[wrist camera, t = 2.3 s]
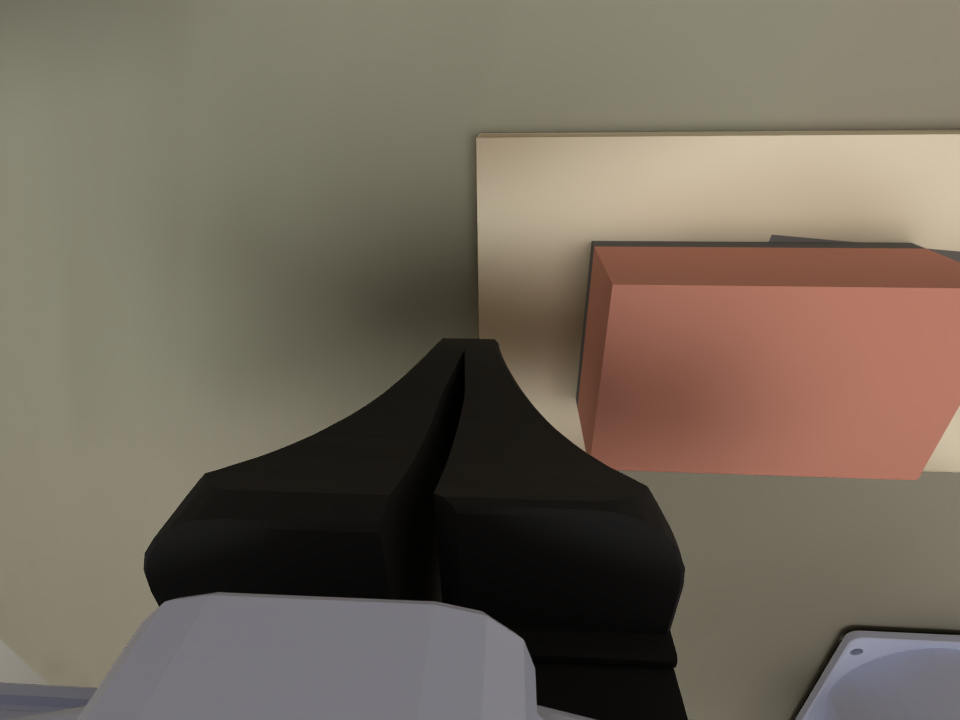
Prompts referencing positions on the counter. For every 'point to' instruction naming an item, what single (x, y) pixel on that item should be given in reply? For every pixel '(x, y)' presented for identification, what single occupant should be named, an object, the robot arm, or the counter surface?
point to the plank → (684, 221)
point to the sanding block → (769, 357)
